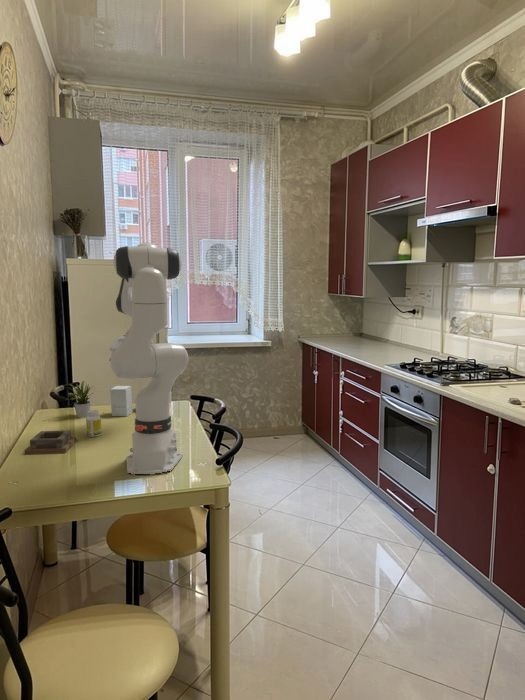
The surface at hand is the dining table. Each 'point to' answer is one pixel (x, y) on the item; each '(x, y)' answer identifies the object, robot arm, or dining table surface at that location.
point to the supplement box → (121, 400)
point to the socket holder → (51, 442)
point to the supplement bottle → (93, 424)
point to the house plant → (81, 400)
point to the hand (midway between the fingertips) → (117, 362)
